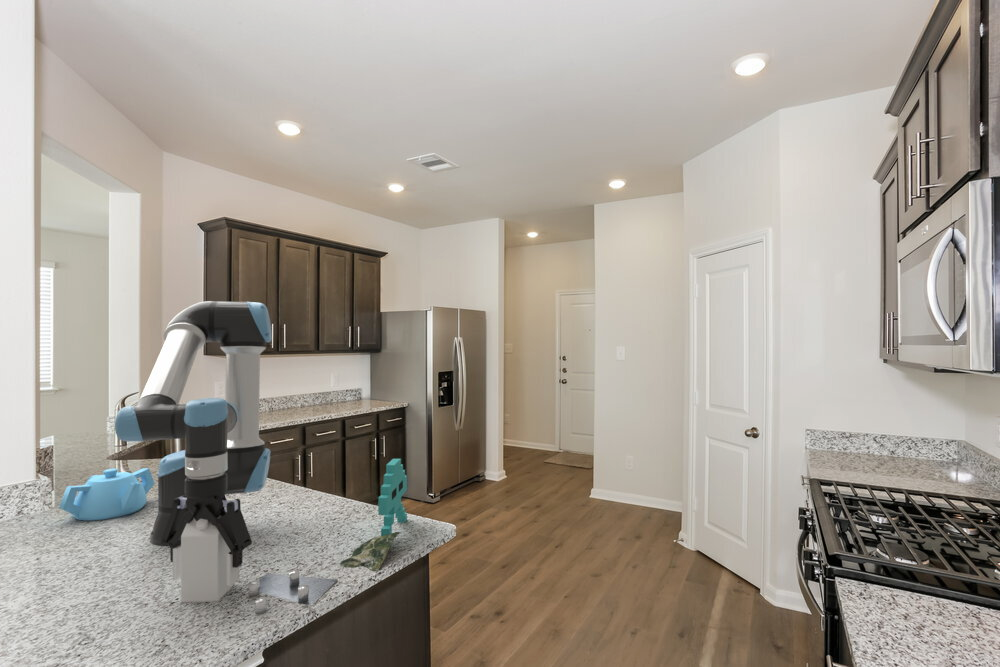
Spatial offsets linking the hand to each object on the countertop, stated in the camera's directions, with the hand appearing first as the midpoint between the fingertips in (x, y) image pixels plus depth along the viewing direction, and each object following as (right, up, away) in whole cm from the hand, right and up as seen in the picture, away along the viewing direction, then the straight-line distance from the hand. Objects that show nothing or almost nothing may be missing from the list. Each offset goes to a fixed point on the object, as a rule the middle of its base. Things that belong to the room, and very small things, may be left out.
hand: (206, 579), depth 98 cm
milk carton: (0, -5, +1) cm, 5 cm away
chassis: (+15, -5, 0) cm, 16 cm away
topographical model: (+26, -6, +19) cm, 33 cm away
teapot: (-59, -5, +49) cm, 77 cm away
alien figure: (+31, -5, +35) cm, 47 cm away
